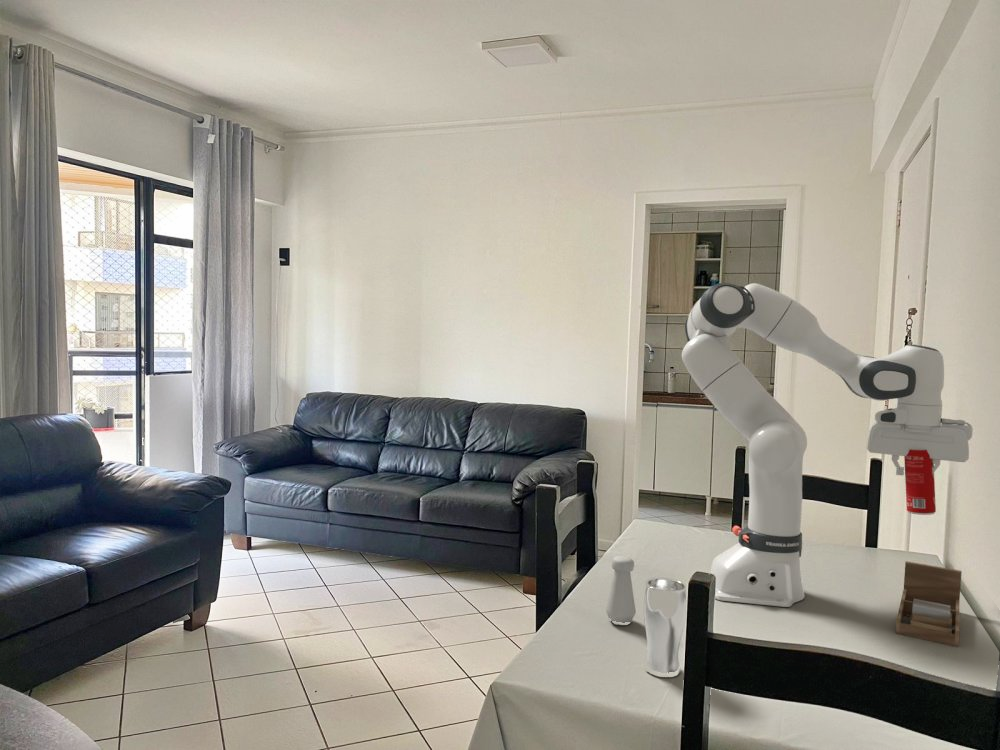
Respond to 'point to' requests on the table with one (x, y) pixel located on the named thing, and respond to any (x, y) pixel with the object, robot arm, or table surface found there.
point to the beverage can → (919, 482)
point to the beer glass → (664, 622)
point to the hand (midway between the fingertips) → (914, 476)
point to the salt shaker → (621, 591)
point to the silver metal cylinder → (931, 616)
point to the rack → (930, 599)
